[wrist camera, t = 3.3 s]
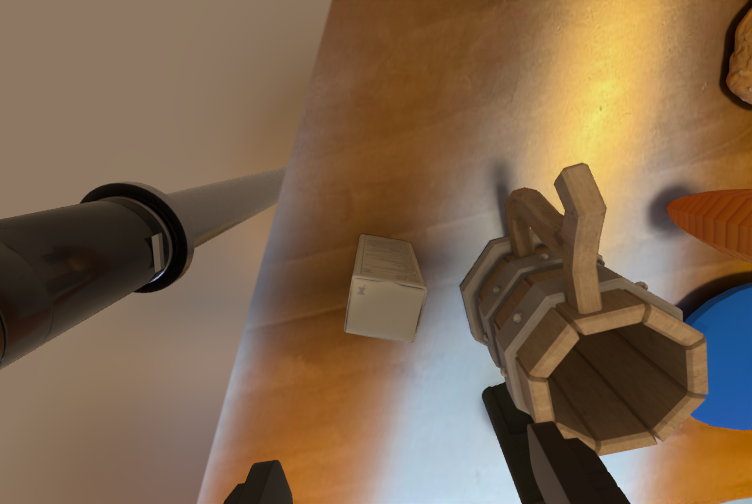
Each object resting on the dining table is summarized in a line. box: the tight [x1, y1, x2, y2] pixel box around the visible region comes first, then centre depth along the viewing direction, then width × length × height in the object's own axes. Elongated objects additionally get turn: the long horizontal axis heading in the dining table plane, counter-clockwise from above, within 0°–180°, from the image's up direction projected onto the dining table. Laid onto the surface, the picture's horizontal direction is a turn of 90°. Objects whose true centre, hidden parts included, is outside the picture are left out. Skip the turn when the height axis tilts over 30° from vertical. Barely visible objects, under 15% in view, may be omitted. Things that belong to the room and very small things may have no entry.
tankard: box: [460, 163, 708, 456], centre depth 26 cm, size 20×13×15 cm, turn 17°
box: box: [344, 234, 428, 343], centre depth 28 cm, size 5×4×11 cm
